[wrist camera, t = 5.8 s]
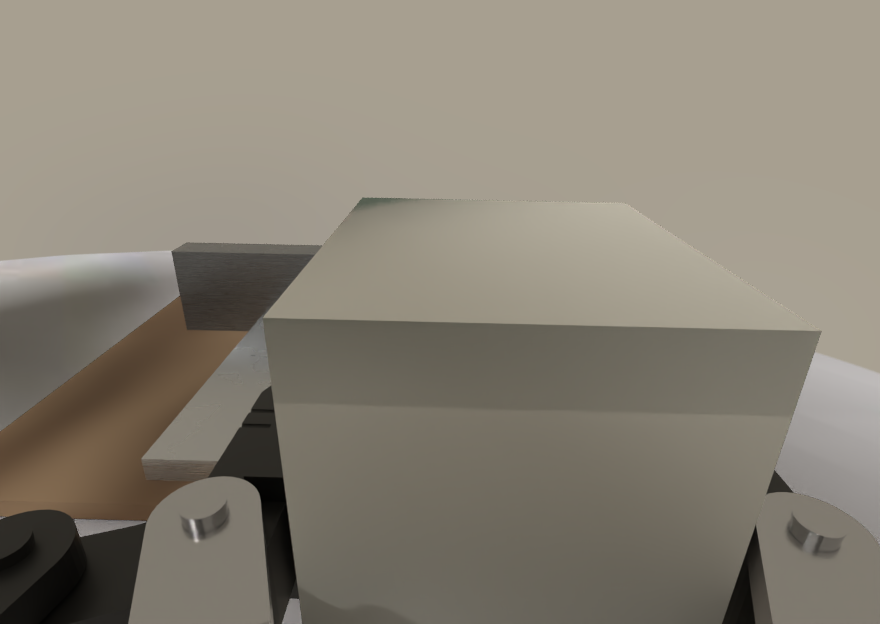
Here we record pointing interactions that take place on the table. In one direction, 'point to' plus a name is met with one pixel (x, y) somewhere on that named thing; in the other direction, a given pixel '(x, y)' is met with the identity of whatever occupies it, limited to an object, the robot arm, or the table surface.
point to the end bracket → (234, 281)
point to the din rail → (212, 414)
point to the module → (524, 416)
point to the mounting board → (109, 424)
